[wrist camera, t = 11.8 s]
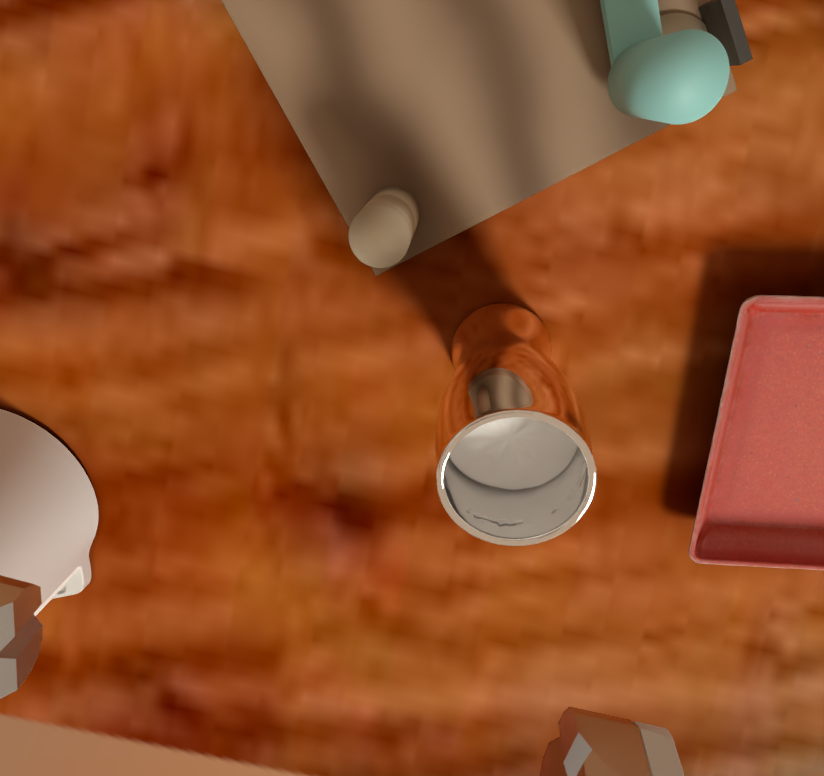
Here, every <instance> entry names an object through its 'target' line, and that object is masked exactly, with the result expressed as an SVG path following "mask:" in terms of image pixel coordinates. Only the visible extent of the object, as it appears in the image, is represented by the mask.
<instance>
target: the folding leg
mask: <svg viewBox="0 0 824 776" xmlns="http://www.w3.org/2000/svg"><path fill="white" fill-rule="evenodd" d="M600 5H601V11H602V16H603V22H604V28H605V34H606V40H607V46H608V51H609V57H610V63H611V69H610V71H609V75H608V85H607V86H608V93H609V97H610V99H611V101H612V103H613V105H614V106H615V107H616V108H617V109H618V110H619V111H620V112H622V113H623V114H625V115H628V116H631V117H636V118H642V119H647V120H652V121H658V122H663V123H669V124H686V123H690V122H693V121H696V120H698V119H700V118H701V117H703V116H704V115H706V114H707V113H708V112H710V111H711V110H712V109H713V108H714V107H715V106H716V104H717V103H718V102H719V100H720V99H721V97H722V96H723V94H724V91H725V89H726V86H727V83H728V79H729V71H730V68H729V59H728V55H727V52H726V50H725V48H724V46H723V45H722V44H721V42H720V41H719V40H718V39H717V38H716V37H714V36H713V35H711V34H710V33H708V32H705V31H702V30H697V29H688V30H682V31H678V32H674V33H671V34H667V35H662V28H661V21H660V14H659V7H658V0H600Z"/></svg>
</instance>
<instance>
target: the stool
mask: <svg viewBox="0 0 824 776" xmlns="http://www.w3.org/2000/svg"><path fill="white" fill-rule="evenodd" d="M222 2H223V4H224V6H225V7H226V9H227V11H228V13H229V15H230V16H231V18H232V20H233V22H234V24H235V25H236V27H237V29H238V31H239V32H240V34H241V36H242V38H243V40H244V41H245V43H246V45H247V47H248V49H249V50H250V52H251V54H252V56H253V57H254V59H255V61H256V63H257V65H258V66H259V68H260V70H261V72H262V74H263V75H264V77H265V79H266V81H267V82H268V84H269V86H270V88H271V90H272V91H273V93H274V95H275V97H276V99H277V100H278V102H279V104H280V106H281V107H282V109H283V111H284V113H285V115H286V116H287V118H288V120H289V122H290V124H291V125H292V127H293V129H294V131H295V132H296V134H297V136H298V138H299V140H300V141H301V143H302V145H303V147H304V148H305V150H306V152H307V154H308V156H309V157H310V159H311V161H312V163H313V165H314V166H315V168H316V170H317V172H318V173H319V175H320V177H321V179H322V181H323V182H324V184H325V186H326V188H327V190H328V191H329V193H330V195H331V197H332V198H333V200H334V202H335V204H336V206H337V207H338V209H339V211H340V213H341V215H342V216H343V218H344V220H345V222H346V223H347V225H348V227H349V243H350V247H351V249H352V251H353V253H354V254H355V256H356V257H357V258H358V259H359V260H360V261H361V262H363V263H364V264H366V265H368V266H371V268H372V270H373V272H374V273H375V275H376V276H377V275H379V274H381V273H383V272H385V271H387V270H389V269H390V268H392V267H394V266H396V265H398V264H400V263H402V262H404V261H406V260H408V259H410V258H412V257H414V256H416V255H418V254H420V253H422V252H423V251H425V250H427V249H429V248H431V247H433V246H435V245H437V244H439V243H441V242H443V241H445V240H447V239H449V238H451V237H453V236H455V235H456V234H458V233H460V232H462V231H464V230H466V229H468V228H470V227H472V226H474V225H476V224H478V223H480V222H482V221H484V220H486V219H488V218H489V217H491V216H493V215H495V214H497V213H499V212H501V211H503V210H505V209H507V208H509V207H511V206H513V205H515V204H517V203H519V202H521V201H522V200H524V199H526V198H528V197H530V196H532V195H534V194H536V193H538V192H540V191H542V190H544V189H546V188H548V187H550V186H552V185H554V184H555V183H557V182H559V181H561V180H563V179H565V178H567V177H569V176H571V175H573V174H575V173H577V172H579V171H581V170H583V169H585V168H587V167H588V166H590V165H592V164H594V163H596V162H598V161H600V160H602V159H604V158H606V157H608V156H610V155H612V154H614V153H616V152H618V151H620V150H622V149H623V148H625V147H627V146H629V145H631V144H633V143H635V142H637V141H639V140H641V139H643V138H645V137H647V136H649V135H651V134H653V133H655V132H656V131H658V130H660V129H662V128H664V127H666V126H668V125H670V124H669V123H663V122H658V121H652V120H647V119H642V118H636V117H631V116H628V115H625V114H623V113H622V112H620V111H619V110H618V109H617V108H616V107H615V106H614V105H613V103H612V101H611V99H610V97H609V93H608V86H607V85H608V75H609V71H610V69H611V63H610V57H609V51H608V46H607V40H606V34H605V28H604V22H603V16H602V11H601V5H600V0H222ZM658 7H659V14H660V21H661V28H662V35H667V34H671V33H674V32H678V31H682V30H688V29H697V30H702V31H705V32H708V33H710V34H711V35H713V36H714V37H716V38H717V39H718V40H719V41H720V42H721V44H722V45H723V46H724V48H725V50H726V52H727V55H728V59H729V68H730V66H732V65H742V64H743V63H745V62H747V61H749V60H751V59H753V58H752V55H751V52H750V48H749V45H748V42H747V39H746V35H745V32H744V29H743V26H742V22H741V19H740V16H739V13H738V9H737V6H736V3H735V0H710V1H709V0H658ZM736 90H737V87H736V84H735V81H734V78H733V75H732V72H731V69H730V71H729V79H728V83H727V86H726V89H725V91H724V94H723V96H722V97H724V96H726V95H728V94H730V93H732V92H734V91H736ZM722 97H721V98H722Z"/></svg>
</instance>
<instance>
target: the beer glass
mask: <svg viewBox="0 0 824 776" xmlns="http://www.w3.org/2000/svg"><path fill="white" fill-rule="evenodd" d="M451 353H452V361H453V365H454V368H455V372H454V373H453V375H452V377H451V379H450V381H449V383H448V385H447V387H446V390H445V392H444V395H443V397H442V400H441V403H440V407H439V412H438V418H437V424H436V439H435V451H436V467H437V473H436V484H437V491H438V495H439V498H440V500H441V503H442V505H443V507H444V509H445V510H446V512H447V513H448V515H449V516H450V517H451V518H452V520H453V521H454V522H455V523H456V524H457V525H459V526H460V527H461V528H462V529H464V530H465V531H466V532H468V533H470V534H471V535H473V536H475V537H477V538H479V539H482V540H484V541H487V542H491V543H495V544H499V545H507V546H524V545H532V544H537V543H541V542H544V541H547V540H550V539H552V538H554V537H556V536H558V535H560V534H562V533H564V532H565V531H567V530H568V529H569V528H571V527H572V526H573V525H574V524H575V523H576V522H578V521H579V519H580V518H581V517H582V516H583V515H584V513H585V512H586V511H587V509H588V507H589V506H590V504H591V502H592V499H593V496H594V493H595V489H596V483H597V470H596V464H595V460H594V457H593V453H592V446H591V440H590V435H589V429H588V426H587V422H586V418H585V415H584V411H583V409H582V406H581V404H580V402H579V399H578V397H577V395H576V392H575V390H574V389H573V387H572V385H571V384H570V382H569V381H568V380H567V378H566V377H565V375H564V374H563V372H562V371H561V370H560V369H559V368H558V367H557V365H556V364H555V363H554V362H553V361H552V360H551V355H552V345H551V339H550V336H549V333H548V331H547V329H546V327H545V326H544V324H543V323H542V321H541V320H540V319H539V318H538V317H537V316H536V315H535V314H533V313H532V312H531V311H529V310H527V309H525V308H523V307H521V306H518V305H514V304H507V303H498V304H491V305H487V306H484V307H482V308H480V309H478V310H476V311H474V312H473V313H471V314H470V315H469V316H468V317H466V318H465V319H464V321H463V322H462V323H461V324H460V326H459V327H458V329H457V331H456V333H455V335H454V338H453V342H452V349H451Z"/></svg>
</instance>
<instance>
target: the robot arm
mask: <svg viewBox="0 0 824 776" xmlns="http://www.w3.org/2000/svg"><path fill="white" fill-rule="evenodd" d="M97 526H98V505H97V500H96V496H95V492H94V490H93V487H92V485H91V482H90V480H89V478H88V476H87V474H86V473H85V471H84V469H83V468H82V466H81V465H80V463H79V462H78V461H77V459H76V458H75V457H74V456H73V455H72V453H71V452H70V451H69V450H68V449H67V448H66V447H65V446H64V445H63V444H62V443H61V442H60V441H59V440H57V439H56V438H55V437H54V436H52V435H51V434H50V433H48V432H47V431H46V430H44V429H43V428H41V427H40V426H38V425H36V424H35V423H33V422H31V421H29V420H27V419H25V418H23V417H21V416H19V415H17V414H14V413H11V412H9V411H5V410H2V409H0V699H1V698H3V697H5V696H7V695H8V694H10V693H12V692H14V691H16V690H18V688H19V687H20V685H21V684H22V683H23V681H24V680H25V679H26V677H27V676H28V674H29V673H30V671H31V669H32V667H33V665H34V663H35V660H36V658H37V656H38V654H39V651H40V646H41V642H42V624H41V623H40V622H39V621H38V619H37V618H36V617H35V616H36V615H37V614H38V613H39V612H40V611H41V610H42V609H43V608H44V606H45V605H46V604H47V603H48V602H49V601H50V600H51V599H53V598H58V597H63V596H68V595H73V594H77V593H79V592H81V591H82V590H83V589H84V588H85V587H86V586H87V585H88V584H89V583H90V581H91V567H90V560H89V550H90V547H91V544H92V542H93V539H94V537H95V534H96V531H97ZM558 723H559V731H560V737H558V738H556V739H554V740H552V741H550V742H549V744H548V746H547V749H546V751H545V754H544V756H543V760H542V766H541V771H540V776H685V775H684V772H683V769H682V766H681V763H680V760H679V756H678V753H677V750H676V747H675V744H674V741H673V737H672V735H671V734H670V732H669V731H668V730H667V728H662V727H658V726H653V725H649V724H645V723H640V722H636V721H631V720H628V719H624V718H619V717H615V716H610V715H606V714H601V713H596V712H592V711H587V710H583V709H578V708H573V707H568V708H567V709H566V710H565V711H564V712H563V714H562V716H561V718H560V720H559V722H558Z"/></svg>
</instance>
